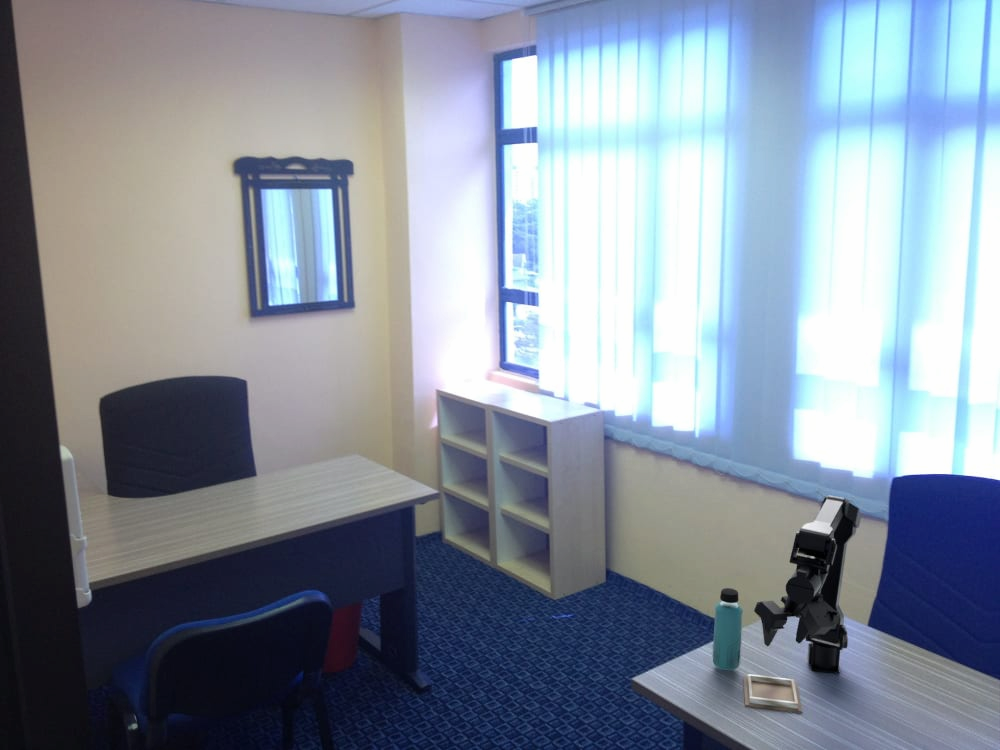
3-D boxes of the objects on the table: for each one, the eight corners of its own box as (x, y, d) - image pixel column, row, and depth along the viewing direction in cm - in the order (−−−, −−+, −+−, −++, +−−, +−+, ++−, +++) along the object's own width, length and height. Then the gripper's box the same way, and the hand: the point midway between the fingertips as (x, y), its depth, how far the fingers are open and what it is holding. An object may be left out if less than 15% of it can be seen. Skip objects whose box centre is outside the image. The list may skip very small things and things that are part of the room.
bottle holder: (797, 684, 208) (797, 677, 208) (802, 713, 197) (802, 706, 196) (743, 677, 211) (743, 671, 210) (745, 706, 199) (745, 699, 199)
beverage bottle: (740, 677, 211) (745, 598, 207) (711, 674, 212) (715, 595, 208) (739, 663, 217) (744, 586, 213) (710, 660, 218) (715, 583, 214)
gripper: (800, 610, 183) (774, 672, 188) (865, 605, 191) (838, 664, 196) (765, 577, 192) (741, 637, 197) (828, 574, 200) (803, 632, 205)
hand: (782, 643), depth 199 cm, fingers open, 9 cm apart
